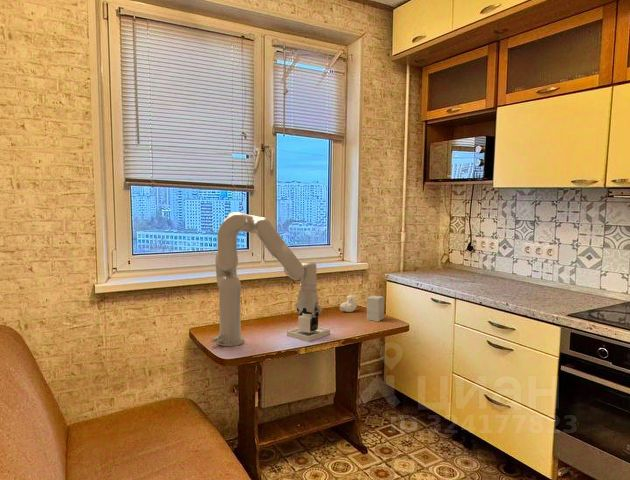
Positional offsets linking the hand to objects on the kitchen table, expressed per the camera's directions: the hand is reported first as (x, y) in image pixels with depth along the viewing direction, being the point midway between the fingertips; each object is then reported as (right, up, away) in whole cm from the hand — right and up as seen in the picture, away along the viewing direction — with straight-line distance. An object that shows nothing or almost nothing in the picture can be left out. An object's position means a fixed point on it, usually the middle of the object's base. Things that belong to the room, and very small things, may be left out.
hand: (308, 323), depth 211 cm
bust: (+24, -2, +46) cm, 52 cm away
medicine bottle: (0, -4, 0) cm, 4 cm away
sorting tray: (0, -6, +1) cm, 6 cm away
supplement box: (+37, -4, +29) cm, 47 cm away
